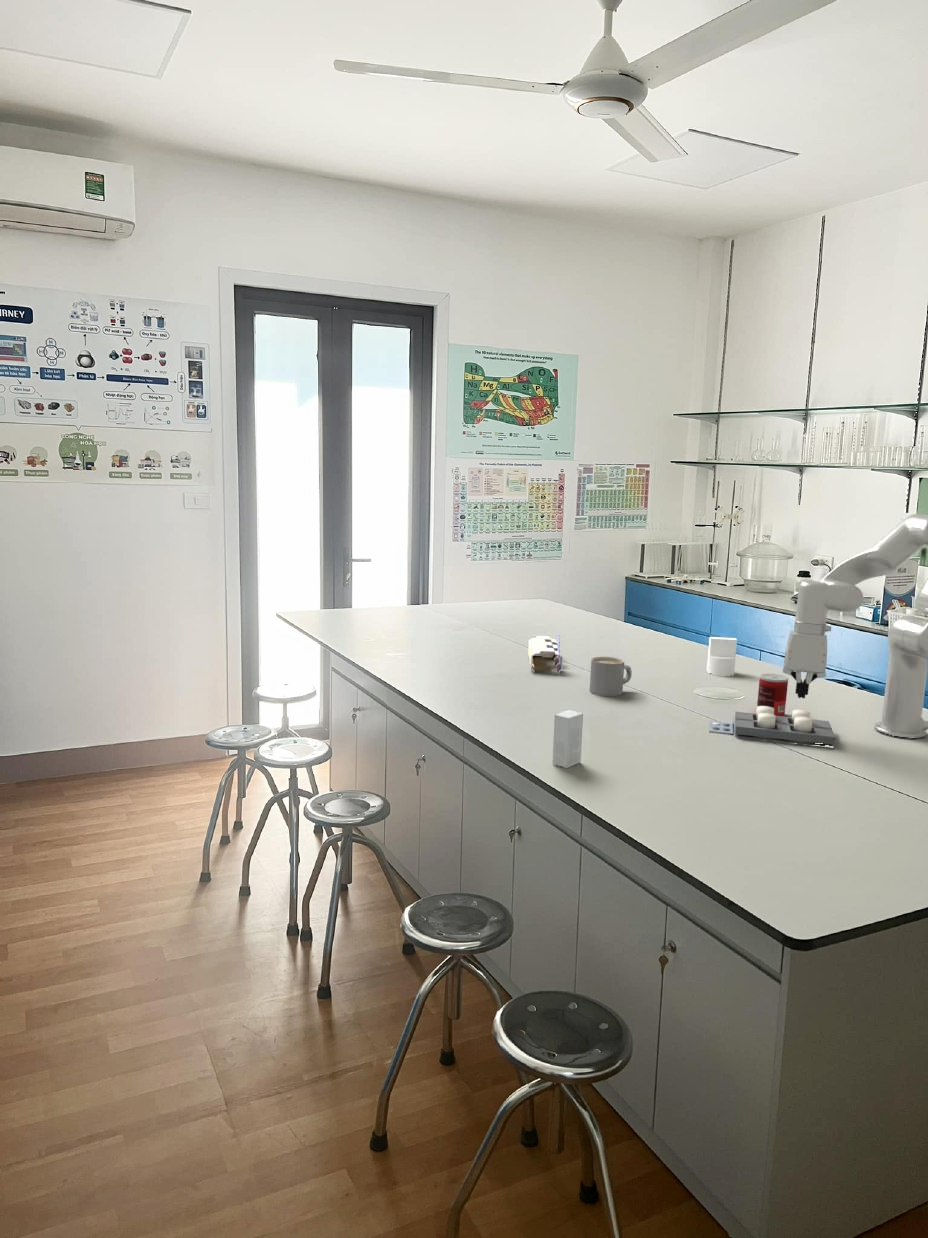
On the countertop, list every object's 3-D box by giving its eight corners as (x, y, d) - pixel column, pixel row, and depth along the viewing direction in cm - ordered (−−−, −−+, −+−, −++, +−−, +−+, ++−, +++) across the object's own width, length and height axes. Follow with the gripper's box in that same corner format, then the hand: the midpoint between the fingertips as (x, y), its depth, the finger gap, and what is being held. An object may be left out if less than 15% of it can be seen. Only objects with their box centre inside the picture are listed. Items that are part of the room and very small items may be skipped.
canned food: (783, 712, 261) (787, 674, 259) (785, 719, 253) (789, 681, 251) (755, 709, 263) (759, 672, 261) (756, 716, 255) (760, 678, 253)
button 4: (810, 728, 235) (811, 717, 234) (812, 733, 231) (813, 722, 230) (792, 726, 236) (793, 715, 235) (793, 731, 232) (795, 720, 231)
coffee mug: (595, 696, 270) (597, 664, 269) (585, 688, 280) (586, 656, 278) (638, 695, 273) (640, 663, 271) (625, 687, 283) (628, 656, 281)
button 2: (774, 724, 237) (775, 713, 237) (775, 729, 233) (776, 718, 232) (756, 723, 238) (757, 712, 238) (757, 727, 234) (758, 716, 234)
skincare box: (565, 758, 213) (568, 709, 211) (581, 762, 211) (584, 713, 209) (551, 764, 209) (554, 714, 207) (566, 769, 206) (569, 718, 204)
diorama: (562, 674, 298) (564, 635, 295) (530, 673, 298) (532, 634, 296) (556, 658, 322) (558, 622, 320) (527, 657, 323) (529, 621, 320)
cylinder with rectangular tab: (731, 670, 311) (734, 636, 309) (736, 676, 302) (739, 641, 300) (704, 669, 312) (707, 635, 310) (708, 675, 303) (711, 640, 301)
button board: (827, 732, 242) (828, 721, 242) (834, 748, 228) (835, 737, 228) (709, 719, 250) (710, 709, 250) (709, 734, 236) (710, 723, 236)
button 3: (808, 721, 242) (809, 710, 241) (809, 725, 237) (810, 714, 237) (790, 719, 243) (791, 708, 242) (791, 724, 239) (793, 713, 238)
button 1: (772, 717, 244) (773, 707, 243) (773, 722, 240) (774, 711, 239) (755, 715, 245) (756, 705, 245) (756, 720, 241) (757, 709, 240)
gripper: (838, 629, 237) (829, 697, 240) (778, 623, 241) (770, 690, 244) (841, 634, 230) (832, 704, 233) (780, 628, 234) (772, 697, 237)
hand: (801, 696), depth 239 cm, fingers closed
